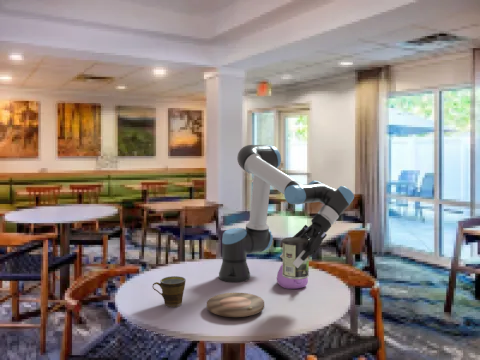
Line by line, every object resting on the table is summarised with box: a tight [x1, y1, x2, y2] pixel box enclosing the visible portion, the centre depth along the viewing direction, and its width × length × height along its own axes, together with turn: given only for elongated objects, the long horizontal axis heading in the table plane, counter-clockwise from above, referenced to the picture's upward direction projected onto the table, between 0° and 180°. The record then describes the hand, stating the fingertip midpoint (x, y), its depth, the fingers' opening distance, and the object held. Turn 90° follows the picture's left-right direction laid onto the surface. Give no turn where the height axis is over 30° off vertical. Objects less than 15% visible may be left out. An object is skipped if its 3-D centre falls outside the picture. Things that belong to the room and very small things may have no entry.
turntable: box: [206, 292, 265, 318], centre depth 157 cm, size 22×22×4 cm
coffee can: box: [281, 236, 310, 279], centre depth 158 cm, size 10×10×14 cm
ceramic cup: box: [151, 276, 186, 308], centre depth 162 cm, size 13×10×10 cm
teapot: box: [276, 262, 309, 290], centre depth 185 cm, size 13×20×11 cm
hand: (288, 262), depth 157 cm, fingers closed on coffee can, 10 cm apart
